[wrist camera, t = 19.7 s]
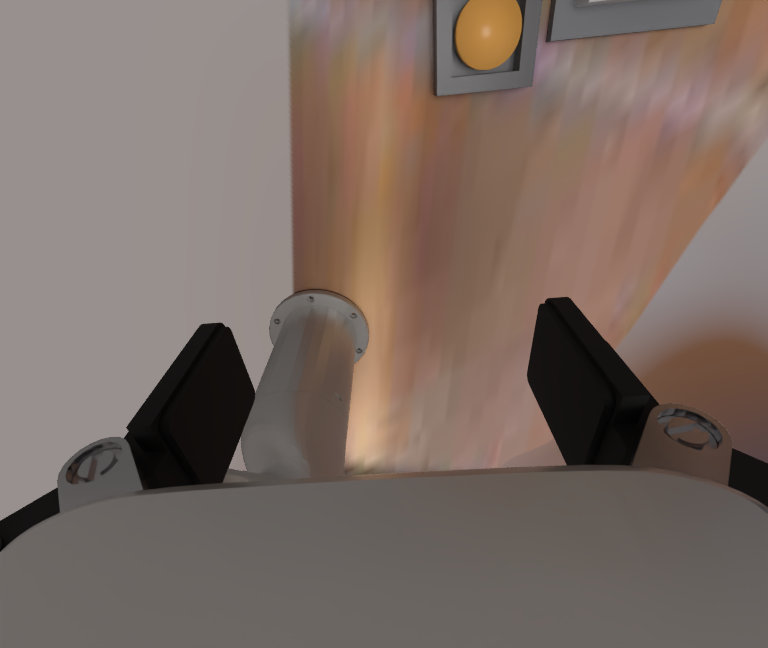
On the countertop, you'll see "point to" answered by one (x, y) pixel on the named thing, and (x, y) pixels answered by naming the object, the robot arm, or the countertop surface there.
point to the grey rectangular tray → (625, 16)
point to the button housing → (463, 79)
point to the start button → (487, 32)
